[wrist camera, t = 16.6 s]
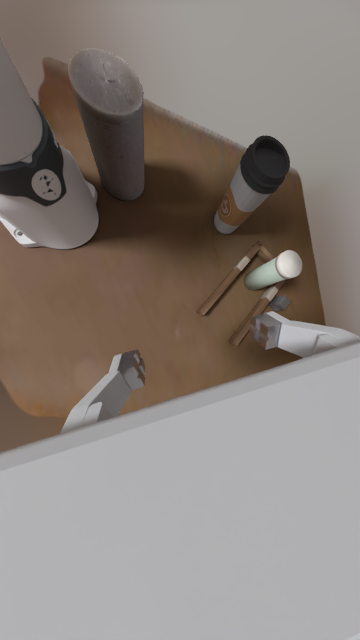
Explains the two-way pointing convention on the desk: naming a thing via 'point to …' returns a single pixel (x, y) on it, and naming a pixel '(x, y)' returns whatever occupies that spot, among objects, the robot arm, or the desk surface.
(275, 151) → the coffee cup
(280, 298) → the beam slot
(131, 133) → the pillar candle
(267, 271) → the mint green tumbler
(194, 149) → the desk surface
